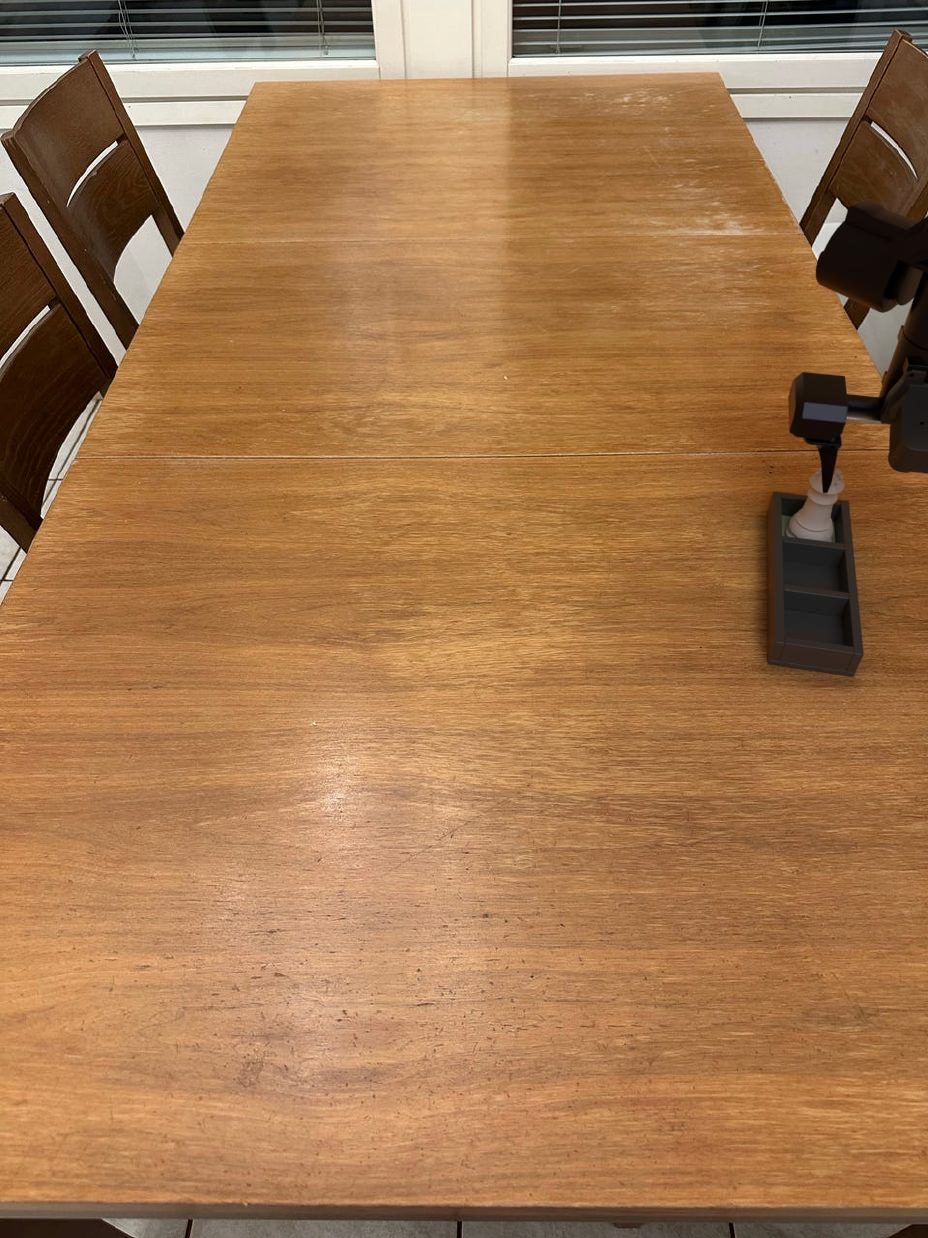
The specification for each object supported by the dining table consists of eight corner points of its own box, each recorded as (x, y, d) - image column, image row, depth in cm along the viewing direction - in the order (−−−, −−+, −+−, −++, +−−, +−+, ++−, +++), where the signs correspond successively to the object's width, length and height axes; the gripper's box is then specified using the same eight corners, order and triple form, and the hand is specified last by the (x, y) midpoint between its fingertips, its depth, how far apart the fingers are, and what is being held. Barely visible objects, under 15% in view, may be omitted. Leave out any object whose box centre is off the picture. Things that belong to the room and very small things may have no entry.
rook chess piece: (839, 547, 94) (864, 484, 88) (799, 557, 93) (821, 494, 87) (814, 518, 96) (837, 456, 90) (776, 527, 96) (796, 465, 90)
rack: (840, 523, 97) (848, 500, 95) (853, 677, 84) (863, 654, 81) (766, 513, 98) (773, 490, 96) (767, 664, 85) (775, 641, 82)
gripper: (817, 382, 67) (769, 544, 78) (1103, 410, 64) (1009, 575, 75) (812, 303, 74) (769, 462, 86) (1068, 325, 71) (987, 487, 83)
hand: (879, 496), depth 82 cm, fingers open, 9 cm apart
